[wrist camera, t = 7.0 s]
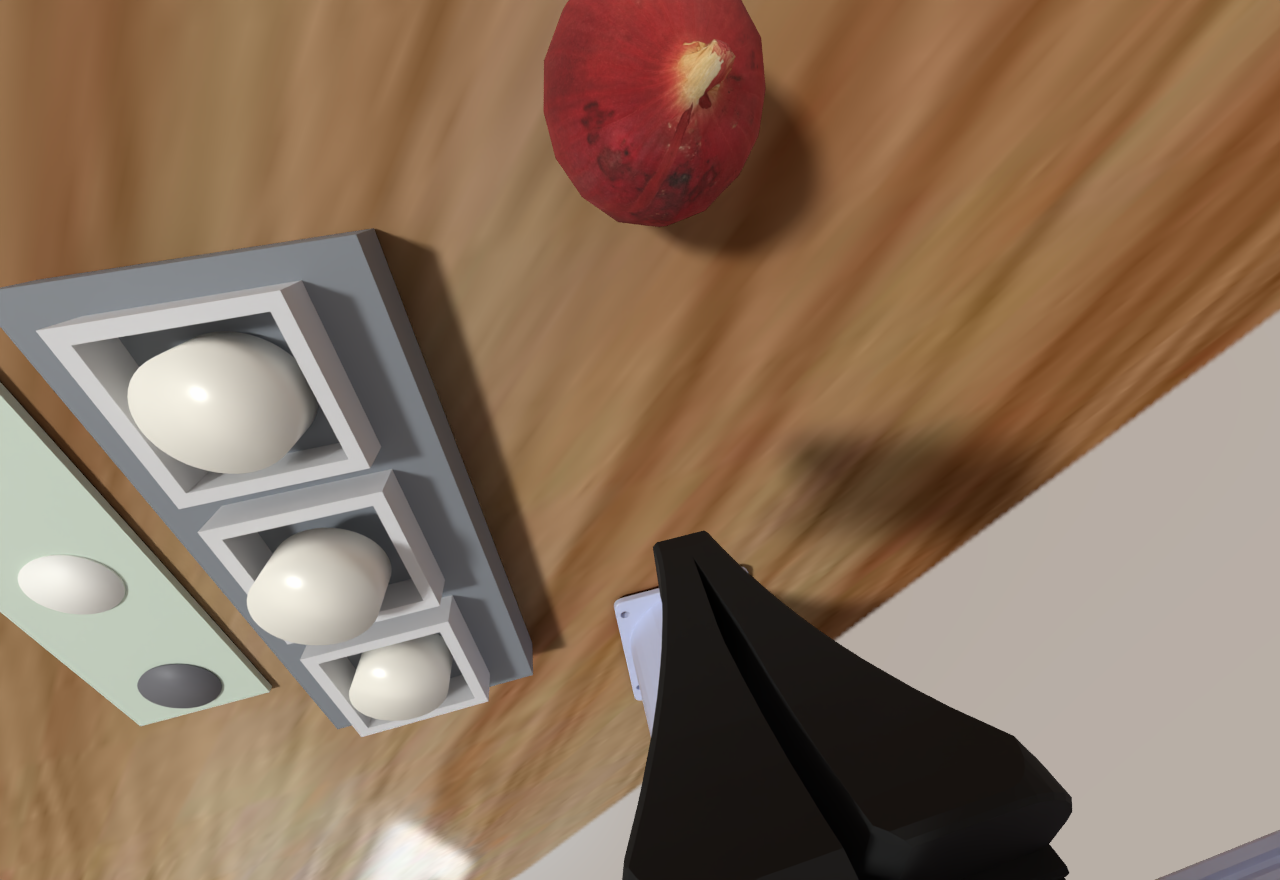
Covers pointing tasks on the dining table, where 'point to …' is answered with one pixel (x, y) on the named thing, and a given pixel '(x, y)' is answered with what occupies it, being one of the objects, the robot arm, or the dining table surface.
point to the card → (103, 589)
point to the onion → (653, 103)
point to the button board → (296, 445)
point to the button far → (402, 679)
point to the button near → (223, 402)
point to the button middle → (320, 587)
